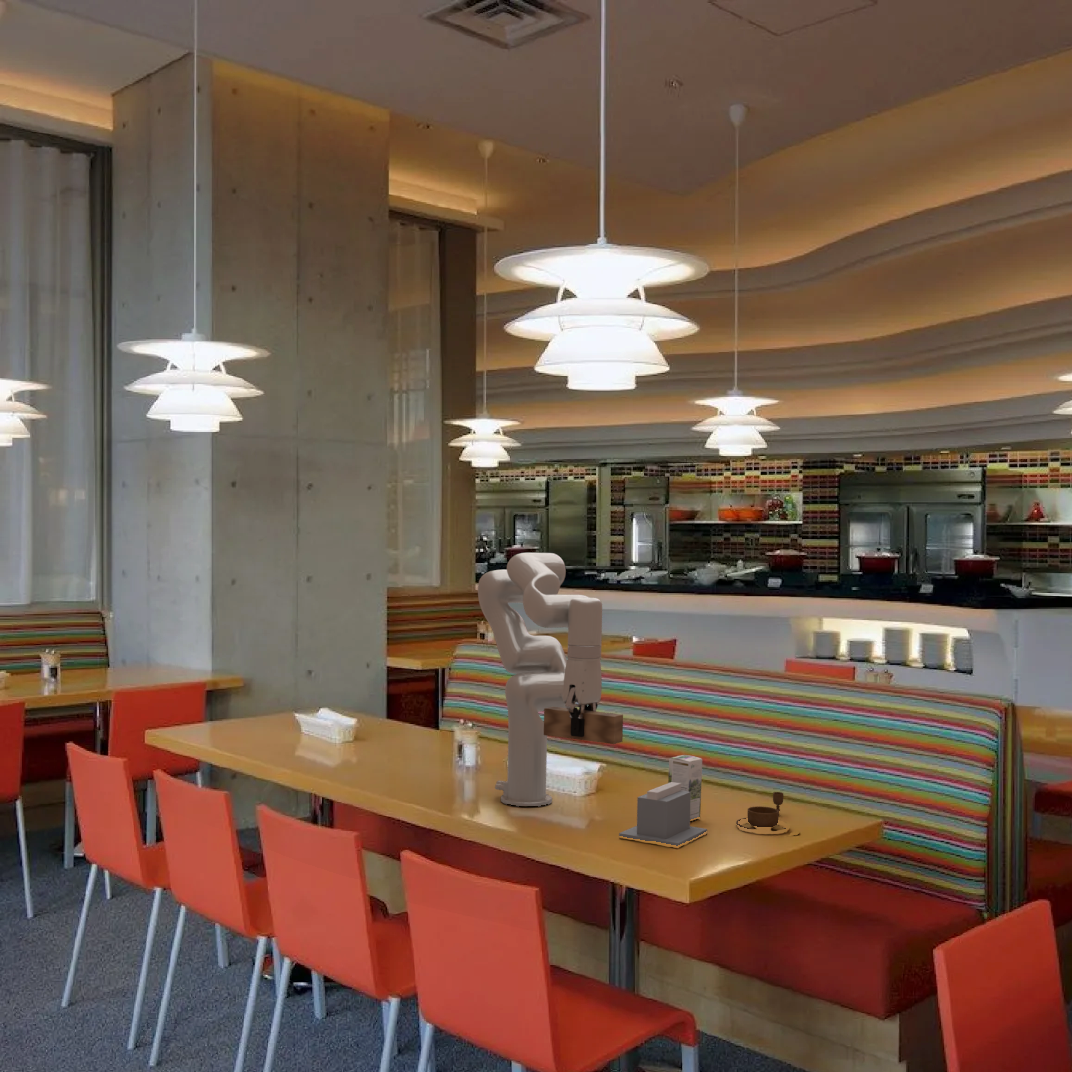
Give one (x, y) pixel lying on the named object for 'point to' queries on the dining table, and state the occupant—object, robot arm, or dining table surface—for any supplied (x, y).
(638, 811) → the stand
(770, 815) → the place setting
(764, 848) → the dining table surface
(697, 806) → the syrup box
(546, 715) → the walnut bar
